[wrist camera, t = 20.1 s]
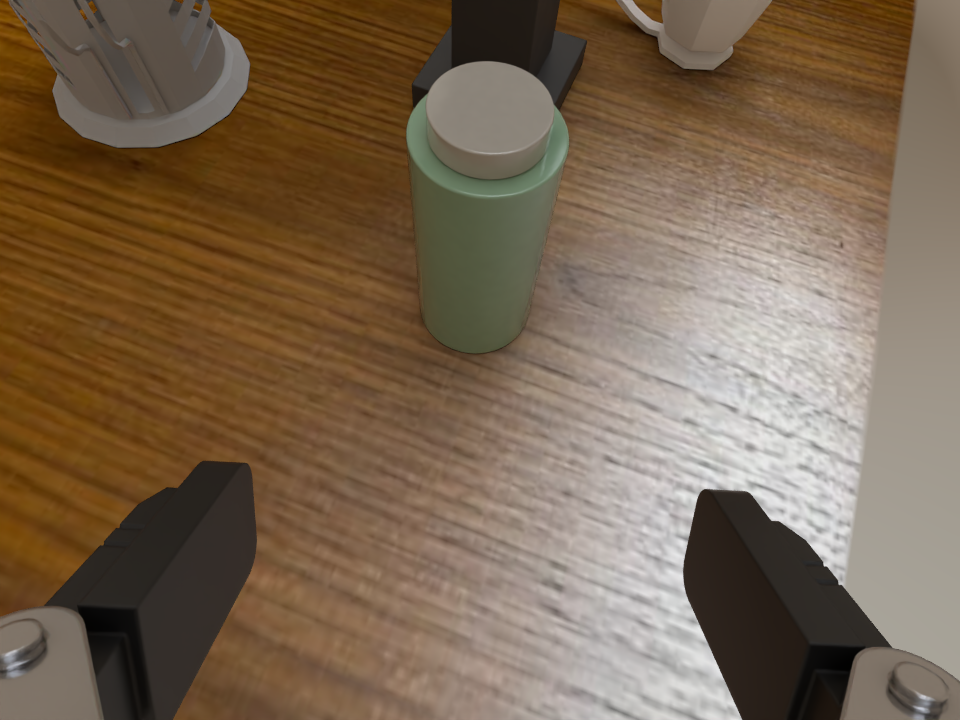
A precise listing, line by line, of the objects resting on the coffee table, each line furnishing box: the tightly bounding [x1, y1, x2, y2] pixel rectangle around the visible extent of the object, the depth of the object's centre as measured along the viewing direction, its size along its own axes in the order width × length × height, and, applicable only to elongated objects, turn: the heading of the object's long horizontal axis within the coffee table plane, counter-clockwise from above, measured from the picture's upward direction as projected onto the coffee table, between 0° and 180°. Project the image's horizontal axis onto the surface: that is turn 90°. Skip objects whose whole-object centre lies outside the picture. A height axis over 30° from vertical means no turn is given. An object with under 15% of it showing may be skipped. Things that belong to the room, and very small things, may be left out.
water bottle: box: [406, 61, 569, 353], centre depth 22 cm, size 5×5×11 cm
